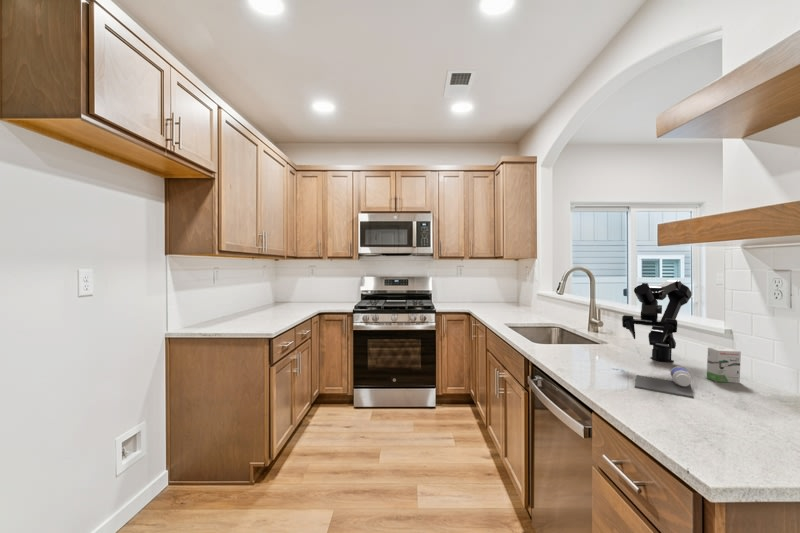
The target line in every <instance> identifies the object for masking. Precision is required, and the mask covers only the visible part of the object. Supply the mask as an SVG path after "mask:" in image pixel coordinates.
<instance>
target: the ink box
mask: <svg viewBox="0 0 800 533" xmlns="http://www.w3.org/2000/svg"><path fill="white" fill-rule="evenodd" d="M741 354H742V352H741V351H740V350H738V349H734V348H731V347H716V346H715V347H714V346H713V347H712V346H711V347H710V346H709V347H707V359H706V360H707V361H706V362H707V364H706V379H709V380H711V381H713V382H716V383H736V384H737V383H739V384H740V382H741Z"/></svg>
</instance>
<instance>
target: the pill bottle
mask: <svg viewBox="0 0 800 533" xmlns="http://www.w3.org/2000/svg"><path fill="white" fill-rule="evenodd" d="M670 376H671V379H672V381H674V382H675V383H676V384H677V385H680V386H688V385H690V384H691V383H692V382H693V381H692V380H693V378H692V376H691V374H690V373H689V371H688V370H687V368H685V367H683V366H675V367H673V368H672V369H671V370H670Z"/></svg>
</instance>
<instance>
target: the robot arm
mask: <svg viewBox="0 0 800 533" xmlns="http://www.w3.org/2000/svg"><path fill="white" fill-rule="evenodd" d="M633 289H634V290H633V292H634V294H635V296H636V298H637V300H638V301H639V302H640V303H641V307H640V319H639V318H634V315H627V314H623V315H622V317H621V322H622V324H621V325H622V328H624V329H626V330H628V331H629V332H630V333H631V335H632V338H633V339H634V340H636V329H635V325H640V326H641V325H642V326H646V327H651V329H650V331H649V333H648V342H649V346H652V349H651V356H650V359H653V360H655V361H658V362H664V363H665V362H666V363H670V362H671V363H674V362H675V360H674V359H672V353H673V352H672V350H673V349H674V350H675V349H676V346H677V342H676V340H675V338H674V334H673V333H678V320H677V317H678V314H679V312H680V310H681V307H682V306H684V305H687V304H688V302H689V300H690V299H691V298H692V291H691V289H690V288H689V286H687V285H685V284H684V283H683V282H682V281H681V280H677V279H667V280H666V281H664V282H662V283H660V284H657V285H649V283H648V282H642V283H641V284H639V285H637V286H636V287H634V288H633ZM666 298H668V300H669V302H668V303H667V305H666V308H665V310H664V312H663V305H661V304H659V303H658V301H663V300H664V299H666ZM659 314H660V315H662V316H661V318H660V320H659V321H658V318H659V317H658V316H659Z"/></svg>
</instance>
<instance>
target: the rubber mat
mask: <svg viewBox="0 0 800 533" xmlns="http://www.w3.org/2000/svg"><path fill="white" fill-rule="evenodd" d="M635 377H636V379H635V384H634V388H636V389H642V390H647V391H653V392H659V393H664V394H670V395H675V396H680V397H681V396H682V397H685V398H686V397H687V398H692V399H695V396H694V392H693V389H692V385H691V384H690V385H688V386H680V385H677V384H676V383H675V382H674V380H670V379H666V378H665V379H664V378H657V377H653V376H646V375H640V374H637V375H636V376H635Z"/></svg>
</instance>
